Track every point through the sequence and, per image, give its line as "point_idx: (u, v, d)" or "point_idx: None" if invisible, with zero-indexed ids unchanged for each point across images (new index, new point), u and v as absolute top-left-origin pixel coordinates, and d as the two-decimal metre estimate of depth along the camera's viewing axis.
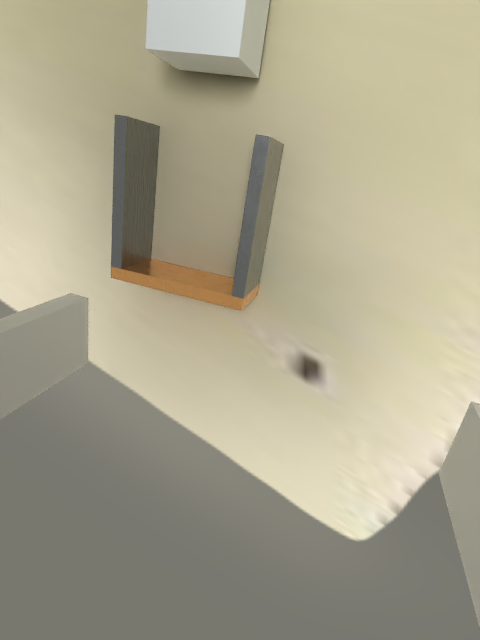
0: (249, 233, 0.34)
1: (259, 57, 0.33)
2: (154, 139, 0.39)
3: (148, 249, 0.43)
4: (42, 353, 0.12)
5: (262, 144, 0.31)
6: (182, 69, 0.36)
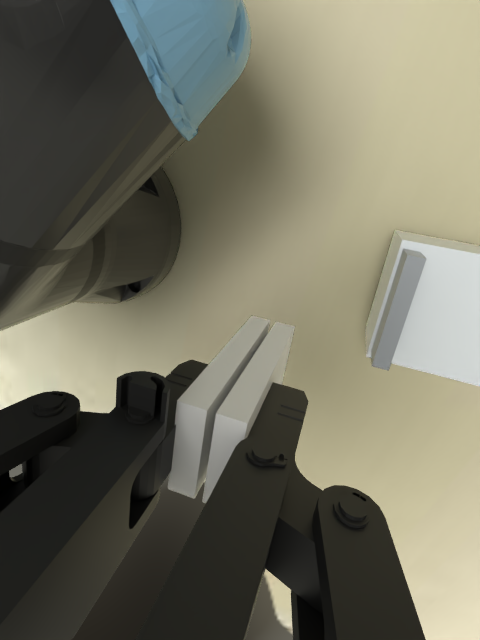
0: None
1: None
2: None
3: None
4: None
5: None
6: None
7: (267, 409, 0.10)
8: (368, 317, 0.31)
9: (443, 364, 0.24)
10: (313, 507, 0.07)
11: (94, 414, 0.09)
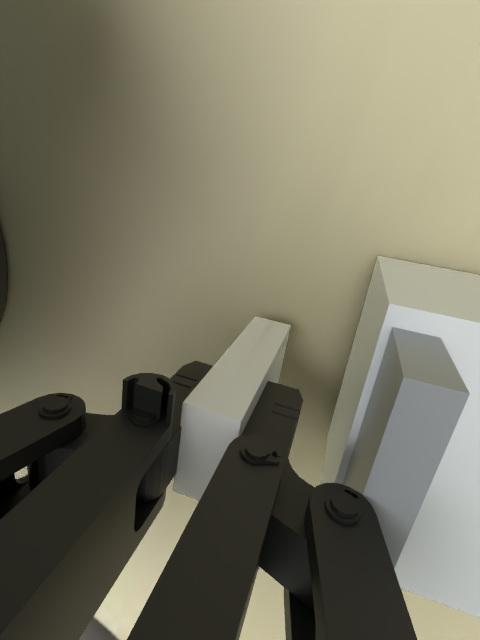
0: None
1: None
2: None
3: None
4: None
5: None
6: None
7: (261, 407, 0.10)
8: (332, 418, 0.16)
9: None
10: (305, 505, 0.07)
11: (99, 416, 0.09)
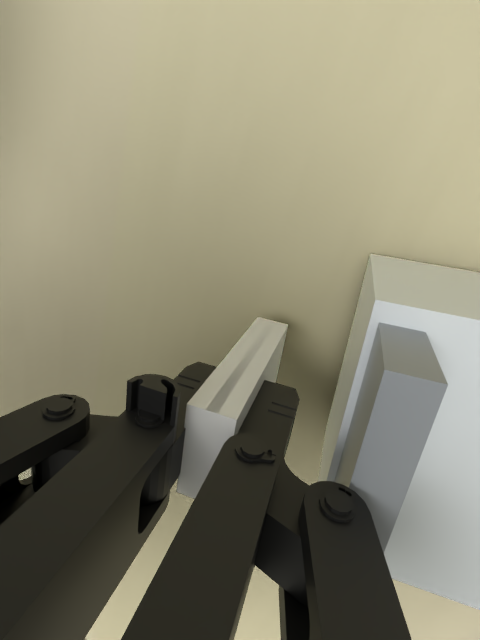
0: None
1: None
2: None
3: None
4: None
5: None
6: None
7: (258, 406, 0.10)
8: (329, 414, 0.16)
9: None
10: (300, 503, 0.07)
11: (103, 417, 0.09)
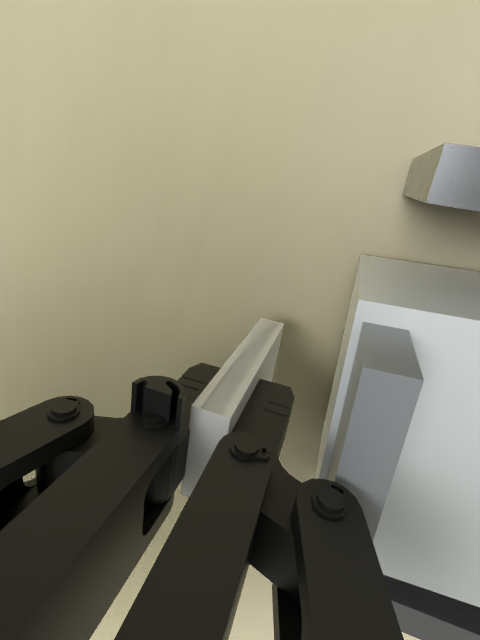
0: None
1: None
2: None
3: None
4: None
5: (469, 174, 0.08)
6: None
7: (253, 405, 0.10)
8: (326, 414, 0.17)
9: None
10: (292, 501, 0.07)
11: (107, 419, 0.09)
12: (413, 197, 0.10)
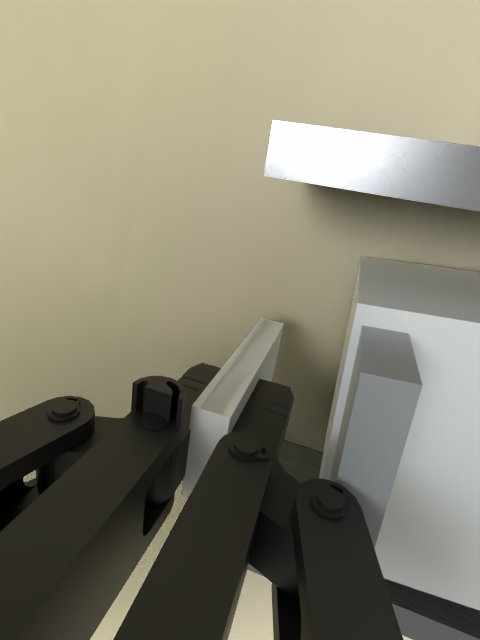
0: None
1: None
2: None
3: None
4: None
5: (296, 148, 0.09)
6: None
7: (252, 405, 0.10)
8: (329, 417, 0.17)
9: None
10: (292, 501, 0.07)
11: (108, 419, 0.09)
12: None
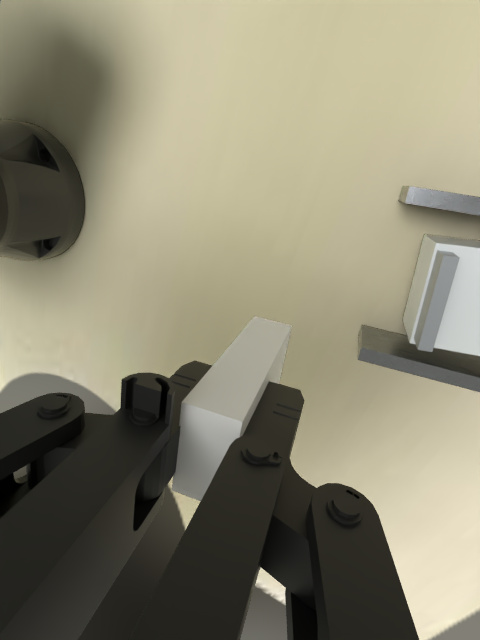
0: None
1: None
2: (375, 330, 0.37)
3: None
4: None
5: (417, 194, 0.28)
6: None
7: (263, 408, 0.10)
8: (405, 310, 0.35)
9: (476, 344, 0.29)
10: (307, 505, 0.07)
11: (98, 416, 0.09)
12: (402, 201, 0.30)
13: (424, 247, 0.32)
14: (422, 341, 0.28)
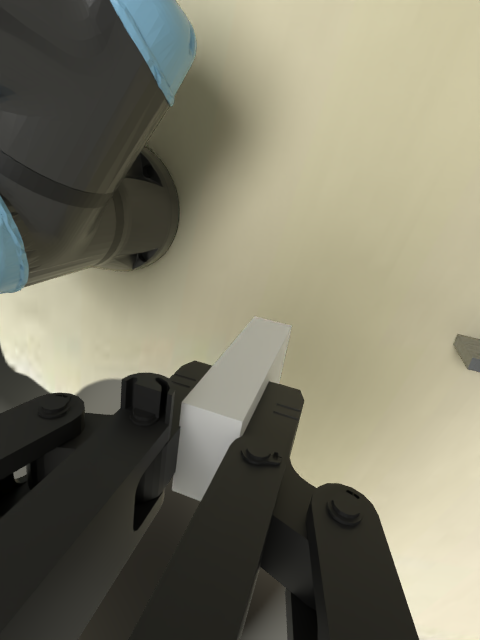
0: None
1: None
2: (472, 340, 0.38)
3: None
4: None
5: None
6: None
7: (263, 408, 0.10)
8: None
9: None
10: (307, 505, 0.07)
11: (98, 416, 0.09)
12: None
13: None
14: None
